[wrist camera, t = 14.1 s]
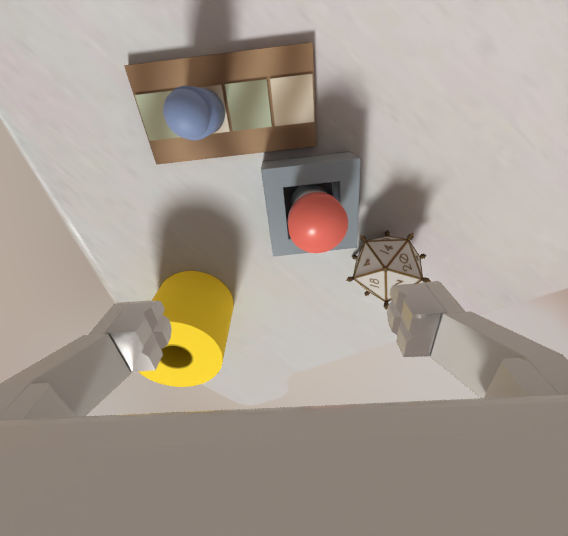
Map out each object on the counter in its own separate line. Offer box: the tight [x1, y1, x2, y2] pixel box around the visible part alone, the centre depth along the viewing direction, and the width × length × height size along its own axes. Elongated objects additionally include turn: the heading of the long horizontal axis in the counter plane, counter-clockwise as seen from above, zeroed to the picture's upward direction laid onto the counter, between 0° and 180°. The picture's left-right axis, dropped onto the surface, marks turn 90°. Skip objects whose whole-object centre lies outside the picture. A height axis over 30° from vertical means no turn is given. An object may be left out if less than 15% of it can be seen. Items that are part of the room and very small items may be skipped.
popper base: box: [261, 152, 361, 256], centre depth 29 cm, size 9×9×4 cm
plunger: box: [288, 184, 348, 253], centre depth 27 cm, size 5×5×7 cm
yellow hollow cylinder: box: [139, 271, 234, 387], centre depth 33 cm, size 10×10×9 cm
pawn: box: [163, 86, 225, 140], centre depth 22 cm, size 4×4×7 cm
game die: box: [346, 230, 431, 310], centre depth 31 cm, size 9×8×10 cm
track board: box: [125, 42, 316, 164], centre depth 25 cm, size 16×8×1 cm, turn 96°
